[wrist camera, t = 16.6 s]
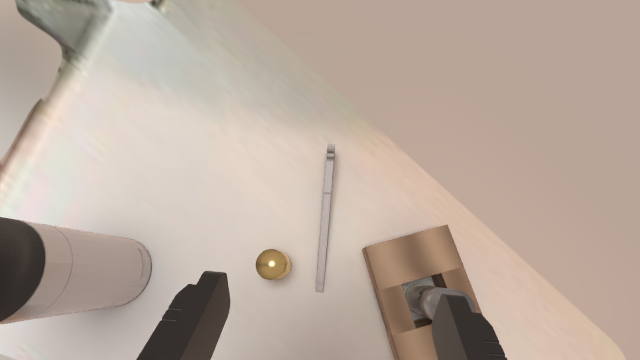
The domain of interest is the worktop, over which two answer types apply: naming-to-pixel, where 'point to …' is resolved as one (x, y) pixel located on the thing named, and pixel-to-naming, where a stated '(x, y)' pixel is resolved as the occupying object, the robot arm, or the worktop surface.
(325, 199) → the caliper
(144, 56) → the worktop surface
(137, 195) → the worktop surface
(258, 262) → the short pin
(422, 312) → the long pin
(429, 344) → the hole block
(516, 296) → the worktop surface
